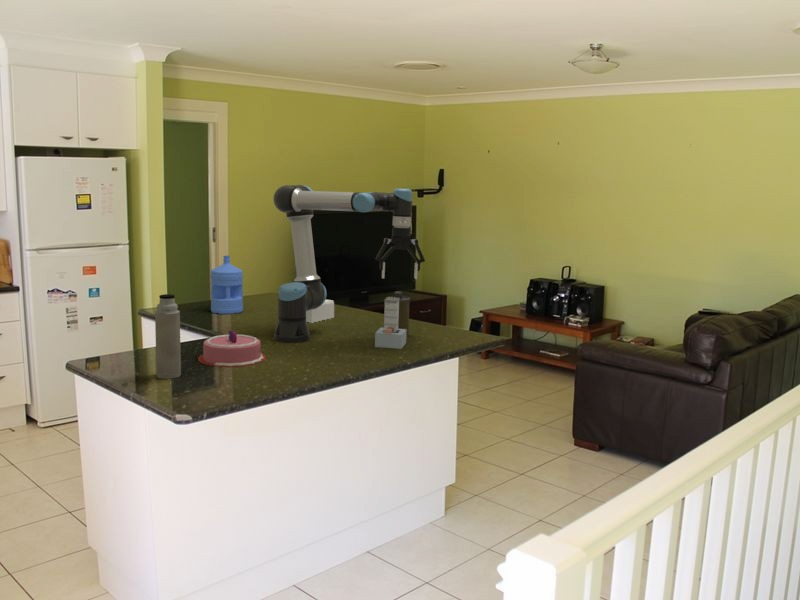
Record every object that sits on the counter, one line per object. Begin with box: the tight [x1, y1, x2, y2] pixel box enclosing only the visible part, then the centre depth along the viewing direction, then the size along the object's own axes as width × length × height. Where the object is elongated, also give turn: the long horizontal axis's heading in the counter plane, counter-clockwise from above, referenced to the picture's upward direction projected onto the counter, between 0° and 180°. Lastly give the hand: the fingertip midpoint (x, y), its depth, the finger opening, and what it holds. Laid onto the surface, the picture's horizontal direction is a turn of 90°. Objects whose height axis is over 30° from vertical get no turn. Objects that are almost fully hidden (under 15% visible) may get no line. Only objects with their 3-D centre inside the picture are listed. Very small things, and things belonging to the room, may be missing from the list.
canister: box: [388, 291, 411, 338], centre depth 319 cm, size 11×10×20 cm
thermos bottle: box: [154, 293, 182, 380], centre depth 248 cm, size 8×8×28 cm
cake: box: [198, 329, 267, 368], centre depth 275 cm, size 25×25×11 cm
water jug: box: [210, 255, 244, 315], centre depth 363 cm, size 16×16×28 cm
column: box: [383, 296, 400, 333], centre depth 300 cm, size 5×7×19 cm
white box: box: [306, 299, 335, 324], centre depth 354 cm, size 18×18×16 cm
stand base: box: [374, 327, 407, 350], centre depth 301 cm, size 13×13×9 cm
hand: (399, 278), depth 302 cm, fingers open, 13 cm apart
